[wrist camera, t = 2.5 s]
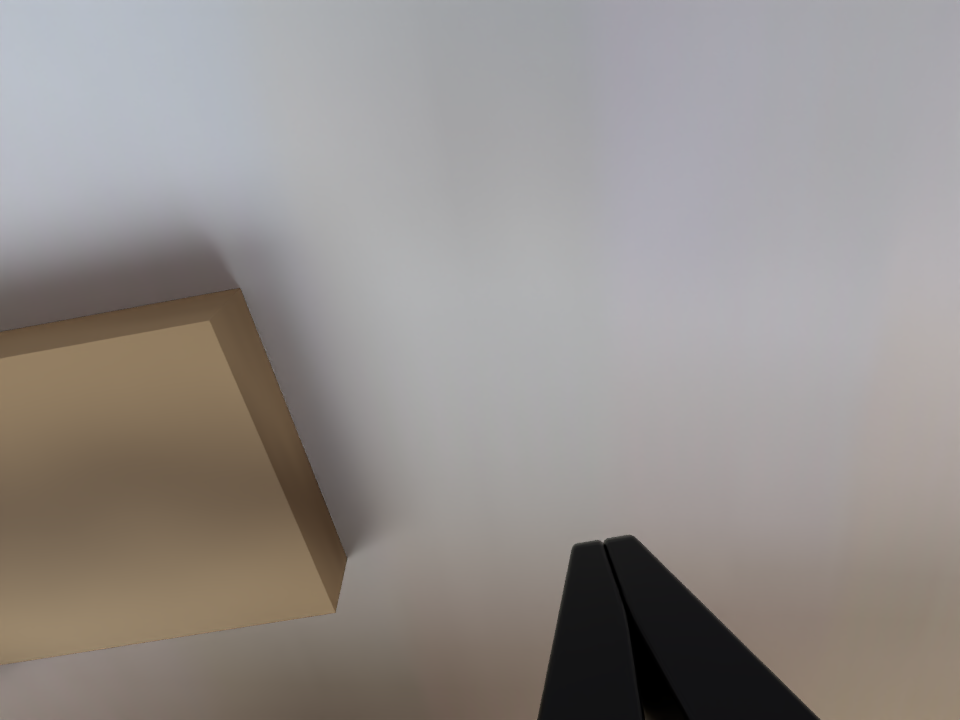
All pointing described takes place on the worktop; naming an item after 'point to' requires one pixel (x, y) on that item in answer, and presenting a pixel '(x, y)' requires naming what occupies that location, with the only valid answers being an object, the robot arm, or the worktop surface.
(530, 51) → the worktop surface
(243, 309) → the board
